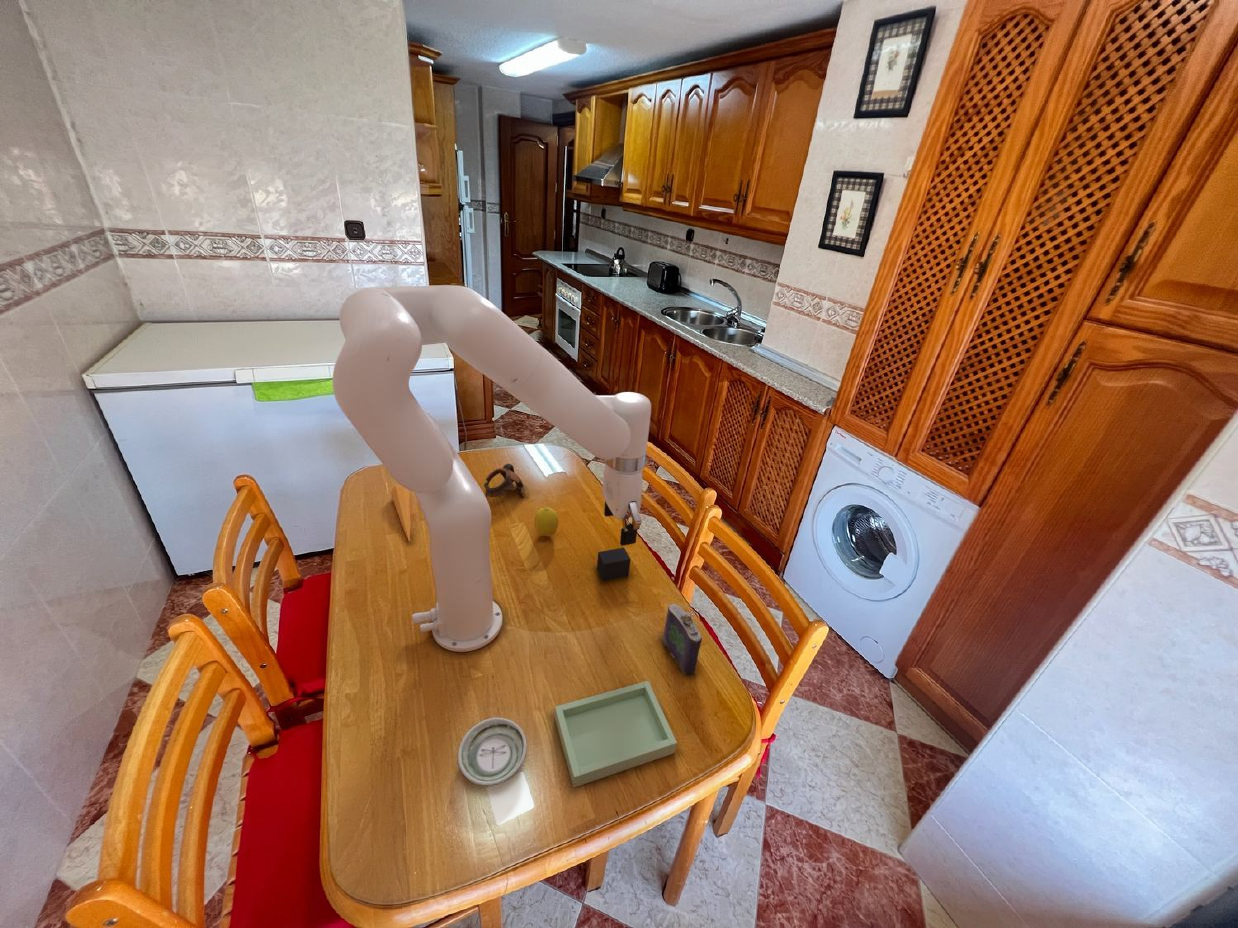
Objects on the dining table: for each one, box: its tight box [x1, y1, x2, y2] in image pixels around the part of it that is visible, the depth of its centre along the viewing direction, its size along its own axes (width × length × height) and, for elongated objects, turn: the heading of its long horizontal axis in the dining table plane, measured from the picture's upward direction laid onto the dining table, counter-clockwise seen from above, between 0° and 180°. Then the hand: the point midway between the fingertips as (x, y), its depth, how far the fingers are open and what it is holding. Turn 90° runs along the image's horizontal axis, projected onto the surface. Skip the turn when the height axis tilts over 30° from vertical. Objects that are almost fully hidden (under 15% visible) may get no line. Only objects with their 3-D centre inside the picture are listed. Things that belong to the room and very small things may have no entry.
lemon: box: [533, 506, 559, 537], centre depth 115 cm, size 6×6×8 cm
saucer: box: [457, 717, 528, 787], centre depth 72 cm, size 10×10×2 cm
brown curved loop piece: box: [483, 463, 526, 498], centre depth 130 cm, size 12×10×8 cm
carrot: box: [390, 483, 412, 543], centre depth 117 cm, size 20×4×4 cm, turn 26°
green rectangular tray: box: [554, 680, 678, 788], centre depth 76 cm, size 16×11×3 cm
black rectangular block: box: [596, 546, 631, 582], centre depth 107 cm, size 6×4×5 cm, turn 110°
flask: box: [661, 603, 703, 677], centre depth 88 cm, size 9×3×11 cm, turn 26°
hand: (619, 528), depth 102 cm, fingers open, 9 cm apart
